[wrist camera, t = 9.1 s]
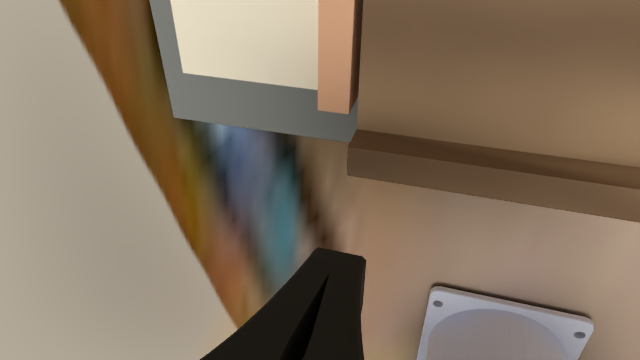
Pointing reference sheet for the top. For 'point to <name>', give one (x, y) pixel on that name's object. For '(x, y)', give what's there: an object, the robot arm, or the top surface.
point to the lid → (275, 44)
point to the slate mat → (243, 96)
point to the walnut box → (503, 101)
